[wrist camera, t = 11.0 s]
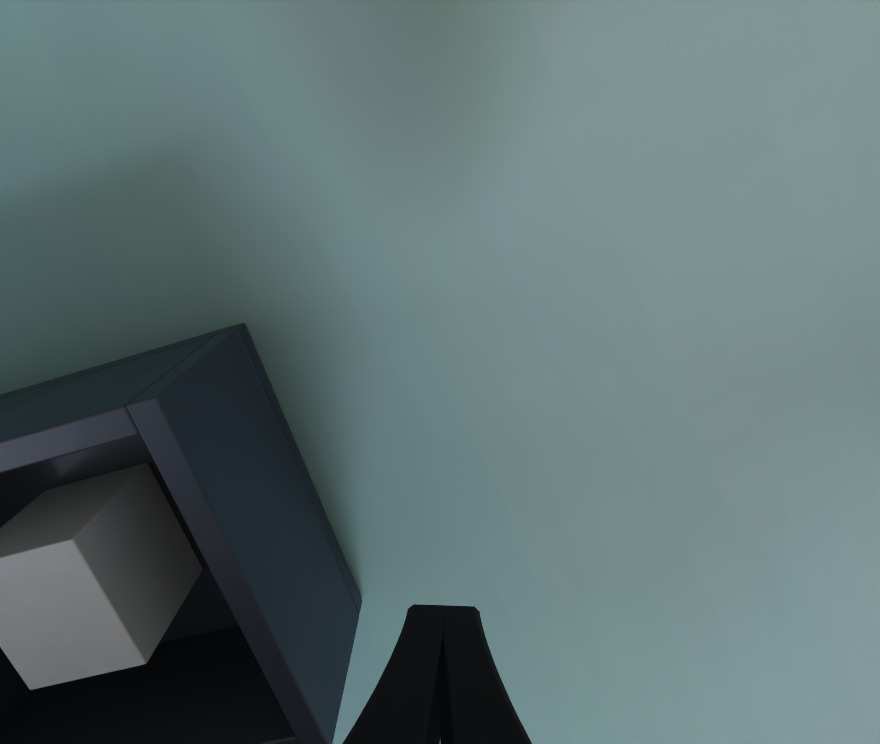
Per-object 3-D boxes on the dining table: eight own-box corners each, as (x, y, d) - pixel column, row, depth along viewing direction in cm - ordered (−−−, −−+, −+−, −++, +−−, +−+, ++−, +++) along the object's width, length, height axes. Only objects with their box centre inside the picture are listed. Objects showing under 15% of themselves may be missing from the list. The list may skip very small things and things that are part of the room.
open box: (-109, 427, 22) (-321, 532, 16) (245, 322, 20) (155, 396, 14) (53, 671, 26) (-69, 830, 20) (363, 600, 24) (331, 751, 18)
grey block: (106, 593, 23) (29, 690, 19) (45, 489, 22) (-53, 571, 17) (203, 569, 22) (146, 664, 18) (147, 461, 21) (72, 538, 17)
